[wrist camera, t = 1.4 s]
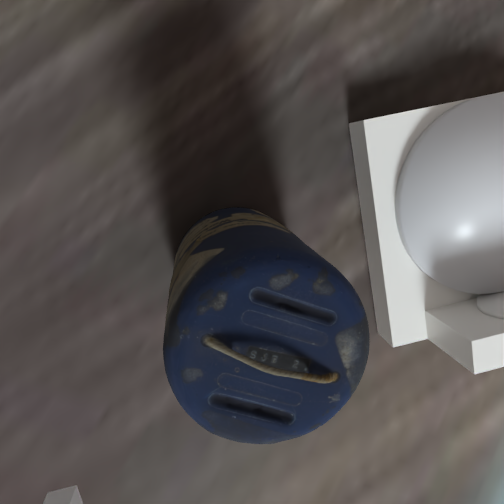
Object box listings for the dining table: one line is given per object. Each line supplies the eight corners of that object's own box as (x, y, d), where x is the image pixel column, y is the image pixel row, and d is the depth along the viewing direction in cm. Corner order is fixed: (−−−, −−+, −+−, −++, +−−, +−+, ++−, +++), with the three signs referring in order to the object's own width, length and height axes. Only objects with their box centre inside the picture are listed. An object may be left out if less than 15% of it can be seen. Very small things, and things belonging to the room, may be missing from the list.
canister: (219, 180, 33) (249, 204, 16) (314, 247, 35) (434, 333, 18) (151, 280, 34) (109, 408, 17) (248, 339, 36) (300, 507, 19)
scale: (348, 123, 34) (403, 111, 25) (558, 80, 35) (679, 55, 26) (377, 333, 38) (433, 385, 29) (563, 286, 39) (669, 323, 31)
